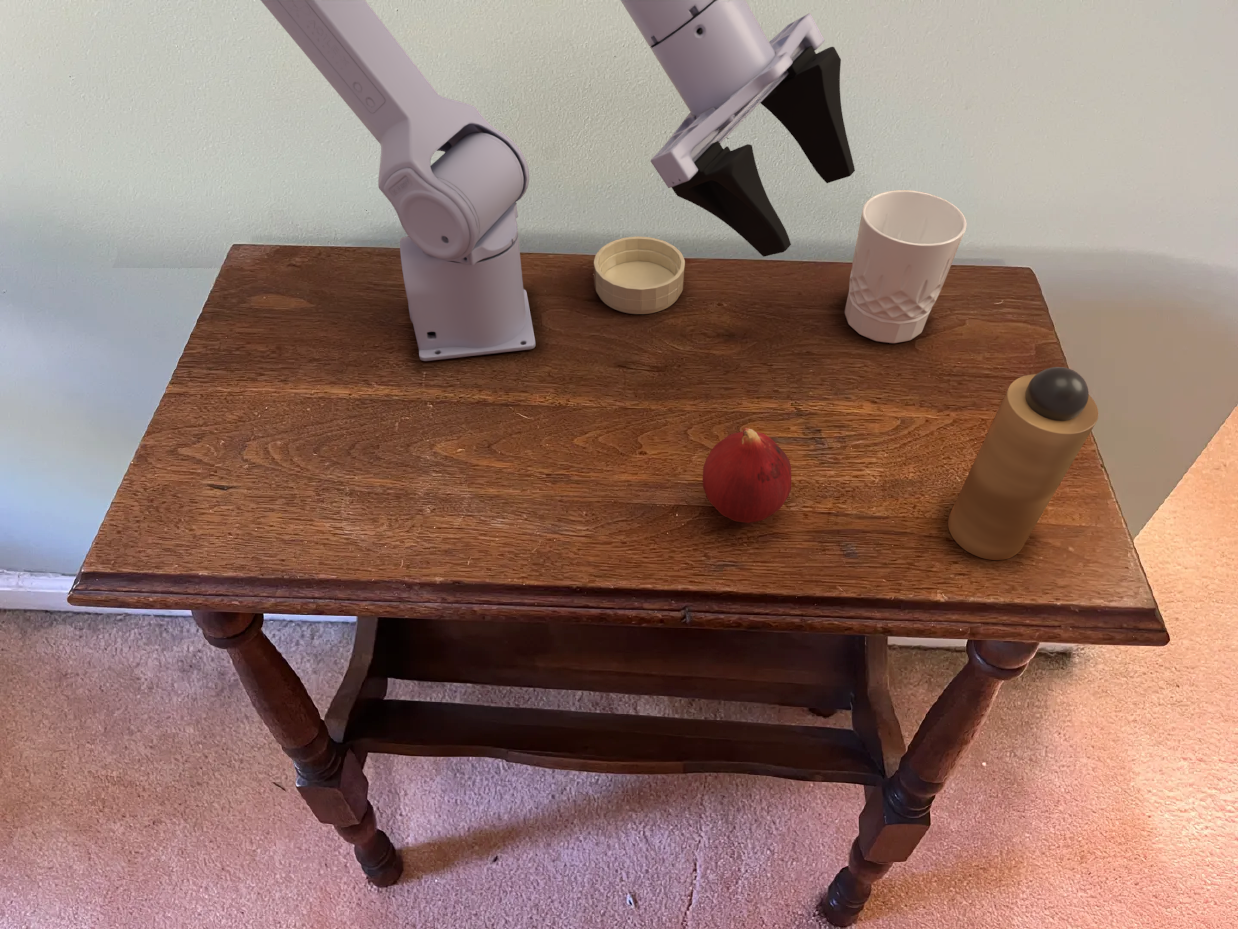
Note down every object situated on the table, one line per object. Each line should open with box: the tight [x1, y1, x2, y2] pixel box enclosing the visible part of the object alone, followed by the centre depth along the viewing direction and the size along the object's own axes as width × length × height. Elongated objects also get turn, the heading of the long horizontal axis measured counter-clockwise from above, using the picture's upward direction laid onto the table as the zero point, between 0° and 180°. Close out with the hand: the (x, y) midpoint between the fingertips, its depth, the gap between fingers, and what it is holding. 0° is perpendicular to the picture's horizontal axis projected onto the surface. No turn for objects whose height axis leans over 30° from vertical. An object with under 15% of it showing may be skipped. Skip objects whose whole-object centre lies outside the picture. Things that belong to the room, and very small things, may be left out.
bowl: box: [593, 235, 686, 315], centre depth 75 cm, size 8×8×3 cm
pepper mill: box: [947, 366, 1099, 561], centre depth 53 cm, size 5×5×14 cm
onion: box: [702, 427, 792, 524], centre depth 56 cm, size 6×6×8 cm
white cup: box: [844, 189, 968, 344], centre depth 70 cm, size 8×8×10 cm
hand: (809, 212), depth 54 cm, fingers open, 7 cm apart
